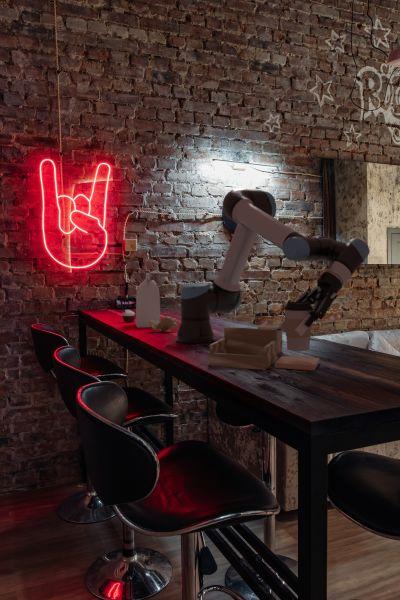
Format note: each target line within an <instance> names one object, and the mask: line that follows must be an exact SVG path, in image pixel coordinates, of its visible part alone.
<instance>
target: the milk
mask: <svg viewBox="0 0 400 600" xmlns="http://www.w3.org/2000/svg"><path fill="white" fill-rule="evenodd" d="M150 275H151V274H150V273H148V272H146V273H145V279H144V280H143V281H142V282H141V283H140V284H138V286H137V287H136V299H135V301H136V303H135V306H136V307H135V315H136V316H135V317H136V319H135V326H136V327H137V328H152V326H151V324H150V319H152V320H154V321H157V322H161V321H162V319H161V300H160V299H161V297H160V296H161V295H160V288H159V286H158V284H157V282H156V281H155V280H154V279H151V278H150V277H151V276H150Z"/></svg>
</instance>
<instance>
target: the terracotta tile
mask: <svg viewBox="0 0 400 600" xmlns="http://www.w3.org/2000/svg"><path fill="white" fill-rule="evenodd" d="M319 364H320V358H318V357H301V356H284V355H282V356H281V357H279V358H277V360H276V361H274V368H275V369H290V370H301V371H302V370H303V371H305V370H306V371H315V370H316V368H317V367H318V365H319Z"/></svg>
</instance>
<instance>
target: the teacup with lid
mask: <svg viewBox="0 0 400 600" xmlns="http://www.w3.org/2000/svg"><path fill="white" fill-rule="evenodd" d="M279 325H280V324H278V323H277V322H274V319H273V318H271V319H270V318H269V319H267V321H266V322H264V323H262V324H259V325H258V326H257V328H259V329H277V354H280V353H282V352H283V331H282V330H281V329H280V328H279V327H278V326H279Z"/></svg>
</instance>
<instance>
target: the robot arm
mask: <svg viewBox="0 0 400 600" xmlns="http://www.w3.org/2000/svg"><path fill="white" fill-rule="evenodd" d="M222 210H223V212H224V214H225V215H226V217H227V218H228V219H230V220H231V221H232V222H234V223H235V224H236V227H235V230H234V233H233V236H232V239H231V241H230V243H229V247H228V249H227V252H226V255H225V258H224V261H223V264H222V267H221V269H220V271H219V275H217V276H215V277H214V278H213V281H212V284H210V283H209V282H208V281H207V282H206V281H205V282H192V283H187V284H184V285H183V286H182V287H181V291H180V302H181V303H180V316H181V317H180V320H181V321H180V325H179V328H178V331H177V333H176V342H179V343H185V344H205V343H206V344H207V343H211V342H214V341H215V334H214V330H213V328H212V324H211V314H228V313H231V312H232V313H233V312H235V311H236V310H238V308H239V307H240V305H241V304H242V299H243V296H242V290H241V285H240V280H241V277H242V275H243V272H244V270H245V266H246V264H247V261H248V259H249V257H250V254H251V252H252V248H253V246H254V243H255V241H256V238H257V236H258V235H259V236H260V237H262V238H264V240H267V241H268V242H270V243H271V244H272V245H274V246H275V247H277V248H279V249H280V250H282V253H283V255H284V257H285V258H286V259H287V260H289V261H294V262H309V261H311V262H318V261H319V262H322V261H323V262H328V263H330V264H329V265H328V266H327V267H326V268H325V270H324V272H322V273H321V274H320V276H319V277H318V278H317V280H316V283H317V286H316V287H315V288H313V289H311V288H310V287H309V288H307V289H306V290H305V291H304V293H303V294H302V295H300V296H299V298H298V299H297V300H295V302H308V303H310V305H311V306H312V305H313V306H312V308H313V309H312V312H309V314H310V315H311V316H310V315H309V314H308V315H307V316H306V317H305V318H304V320H303V321H302V322H301V323H300V324H299V326H298V327H297V328H296V329H295V331H296V332H297V333H298V334H299V336H302V335H303V334H304V333H305V332H306V330H307V329H308V328H309V327H310V326H311V324H312V325H313V323H315V321H317V320H323V318H324V317H325V316H326V314H327V312H328V310H329V308H330V307H331V305H333V302H334V301H335V300H336V299H337V298H338V295H337V294H338V293H339V292H340V291H341V289H342V288H343V286H344V285H345V284H346V283H347V282H348V280H350V278H351V277H352V276H353V274H354V273H355V272H356V271H357V270H358V269H359V267H360V266H361V265H362V264H363V263H364V262H365V260H366V259H367V257H368V256H369V254H370V252H371V251H370V250H371V249H370V247H369V245H368V244H367V243H366V242H365V241H364V240H362V239H360V238H358V237H355V238H351V239H350V241H348V242H347V243H346V242H342V241H339V240H336V239H333V238H330V237H327V236H323V235H316V236H314V237H307V236H304V235H302V234H301V233H299V232H298V231H296V230H294V229H293V228H291V227H289V226H288V225H286V224H285V223H284V222H281V221H280V220H278V219H277V218H275V216H276V214H277V202H276V199H275V197H274V196H273V194H271V193H270V192H269V191H266V190H261V189H249V188H242V187H241V188H239V187H238V188H233V189H231V190H229V192H227V194H225V196H224V198H223V201H222ZM278 325H279V326H278V327H279V328H280V329H281V330H282V333H286V329H285V318H284V319H283V321H281V323H279V324H278Z"/></svg>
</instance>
